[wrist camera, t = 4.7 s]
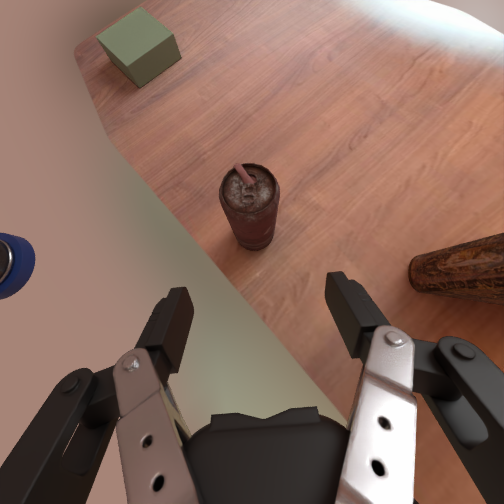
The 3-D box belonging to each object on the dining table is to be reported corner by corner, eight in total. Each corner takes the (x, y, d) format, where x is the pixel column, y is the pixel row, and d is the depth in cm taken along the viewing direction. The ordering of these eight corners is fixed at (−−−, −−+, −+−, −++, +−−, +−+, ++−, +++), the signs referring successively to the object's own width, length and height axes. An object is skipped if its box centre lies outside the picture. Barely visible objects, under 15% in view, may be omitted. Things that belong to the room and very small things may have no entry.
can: (257, 207, 34) (254, 146, 20) (281, 236, 32) (293, 192, 19) (228, 228, 33) (203, 179, 20) (250, 258, 32) (240, 229, 18)
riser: (139, 88, 41) (126, 66, 37) (110, 60, 43) (95, 36, 39) (181, 57, 42) (173, 33, 38) (151, 31, 44) (140, 6, 40)
